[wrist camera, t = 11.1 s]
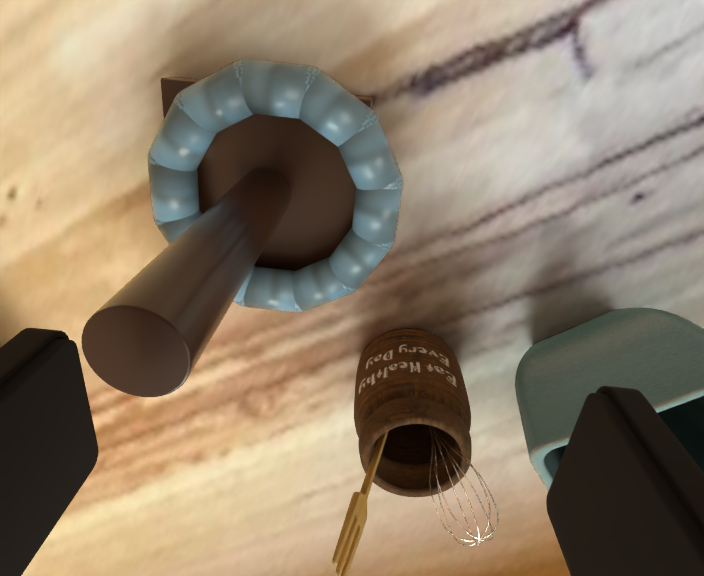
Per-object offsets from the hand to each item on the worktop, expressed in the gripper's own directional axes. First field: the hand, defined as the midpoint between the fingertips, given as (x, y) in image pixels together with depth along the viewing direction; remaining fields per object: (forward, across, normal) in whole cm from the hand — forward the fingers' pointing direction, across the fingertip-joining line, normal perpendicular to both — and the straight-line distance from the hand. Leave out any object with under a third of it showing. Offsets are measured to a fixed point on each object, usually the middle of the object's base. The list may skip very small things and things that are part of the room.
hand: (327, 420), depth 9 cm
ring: (+14, +4, 0) cm, 14 cm away
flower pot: (+16, -14, +8) cm, 23 cm away
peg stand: (+16, +4, 0) cm, 17 cm away
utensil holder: (+16, -4, +10) cm, 19 cm away
